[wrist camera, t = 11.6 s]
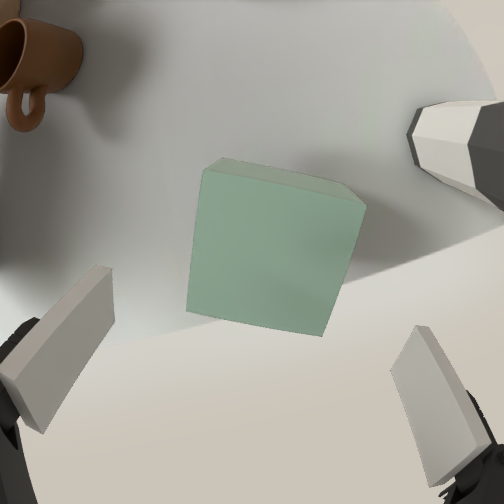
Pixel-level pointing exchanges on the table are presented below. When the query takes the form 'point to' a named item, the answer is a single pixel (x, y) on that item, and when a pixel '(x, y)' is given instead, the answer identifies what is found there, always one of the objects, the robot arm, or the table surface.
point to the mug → (35, 66)
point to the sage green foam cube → (271, 246)
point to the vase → (9, 10)
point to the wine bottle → (462, 146)
